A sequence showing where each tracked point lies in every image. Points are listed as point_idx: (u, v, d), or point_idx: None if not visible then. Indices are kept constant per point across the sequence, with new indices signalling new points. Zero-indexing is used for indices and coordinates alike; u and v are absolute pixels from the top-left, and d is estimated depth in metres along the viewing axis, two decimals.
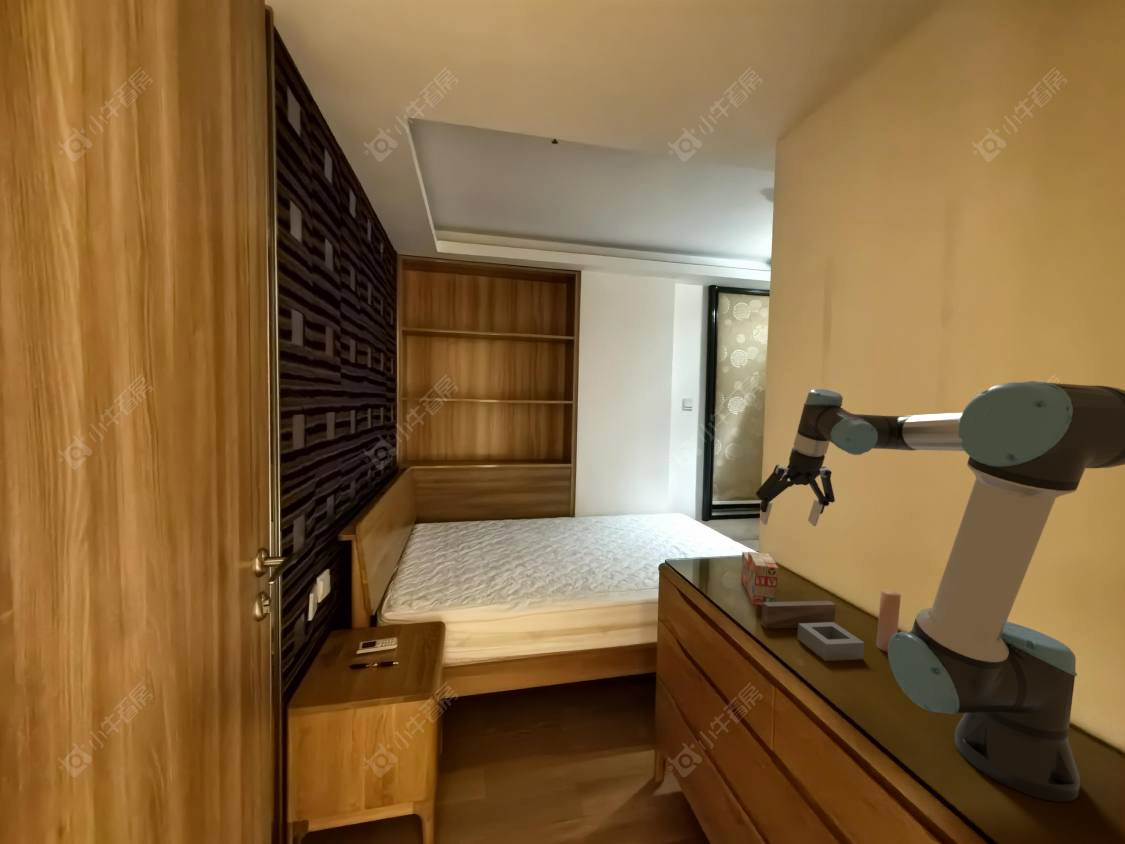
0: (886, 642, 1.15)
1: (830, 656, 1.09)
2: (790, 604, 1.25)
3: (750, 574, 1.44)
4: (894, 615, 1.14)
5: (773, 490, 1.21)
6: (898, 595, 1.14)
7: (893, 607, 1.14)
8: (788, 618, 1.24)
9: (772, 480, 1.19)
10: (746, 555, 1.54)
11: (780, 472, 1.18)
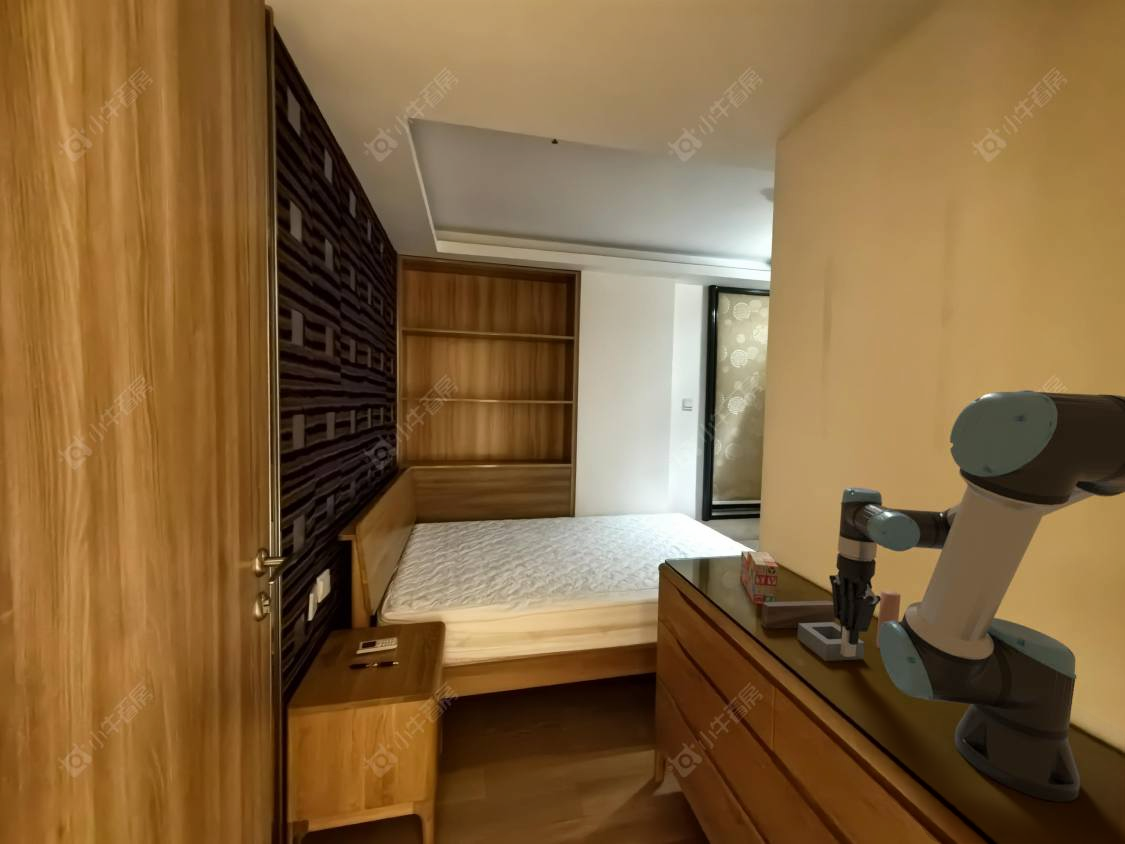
0: None
1: (830, 656, 1.09)
2: (790, 604, 1.25)
3: (750, 573, 1.45)
4: (894, 615, 1.14)
5: None
6: (898, 595, 1.14)
7: (893, 607, 1.14)
8: (788, 618, 1.24)
9: None
10: (745, 554, 1.55)
11: (830, 579, 1.14)
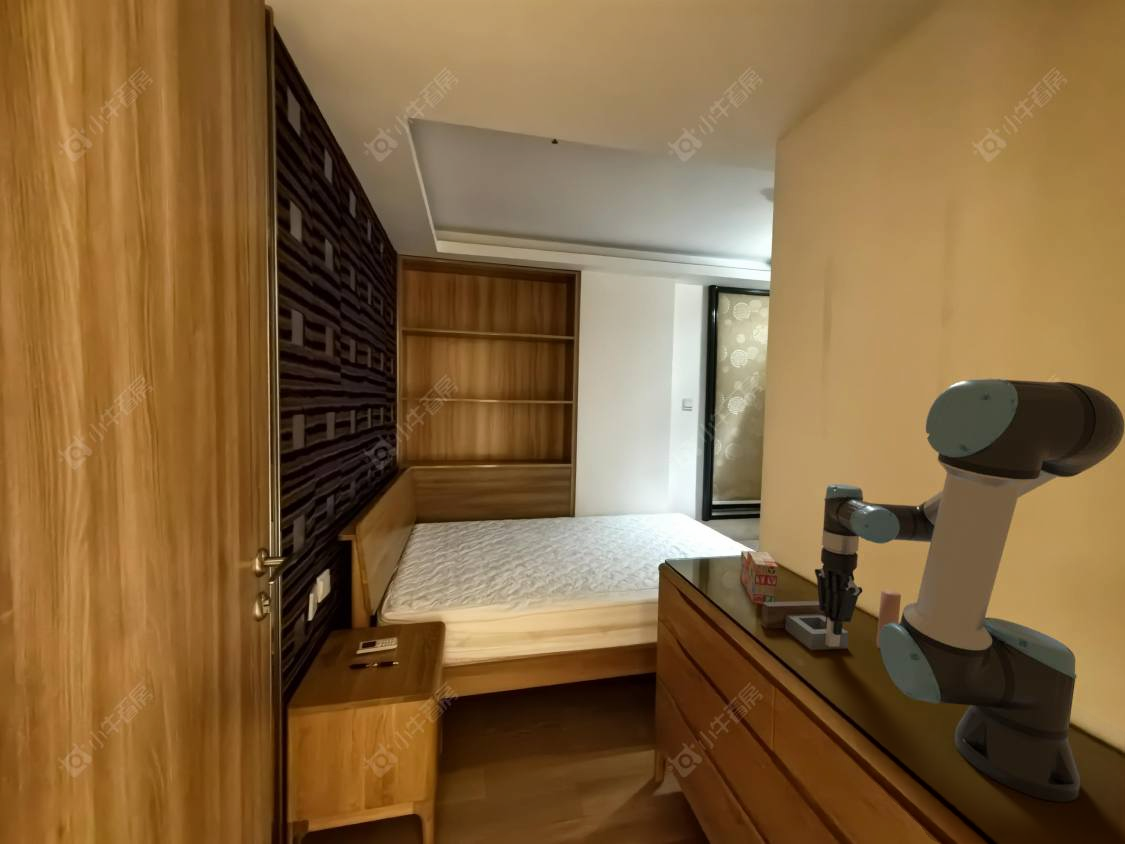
0: None
1: (815, 645, 1.14)
2: (790, 604, 1.25)
3: (750, 573, 1.45)
4: (894, 615, 1.14)
5: None
6: (898, 595, 1.14)
7: (893, 607, 1.14)
8: None
9: None
10: (745, 554, 1.55)
11: (816, 573, 1.19)
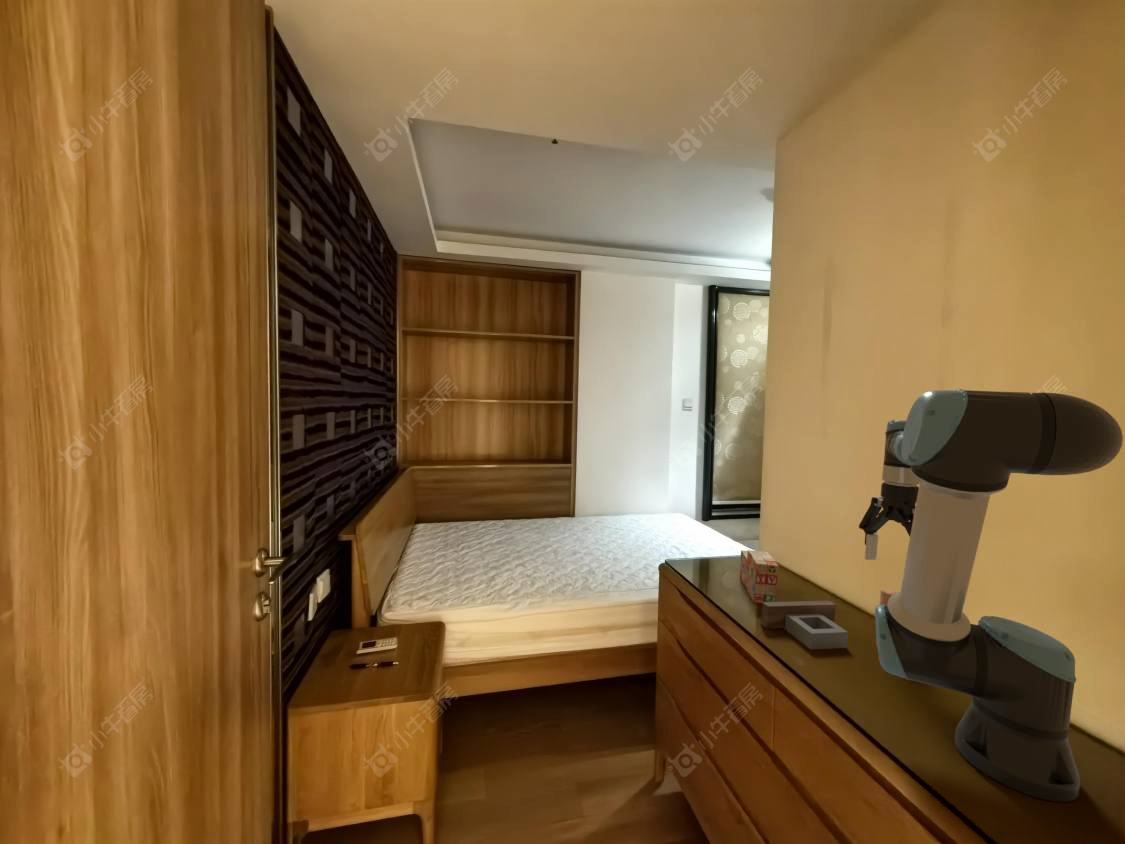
0: None
1: (815, 645, 1.14)
2: (790, 604, 1.25)
3: (750, 572, 1.46)
4: None
5: None
6: None
7: None
8: None
9: None
10: (745, 553, 1.56)
11: (872, 500, 1.21)
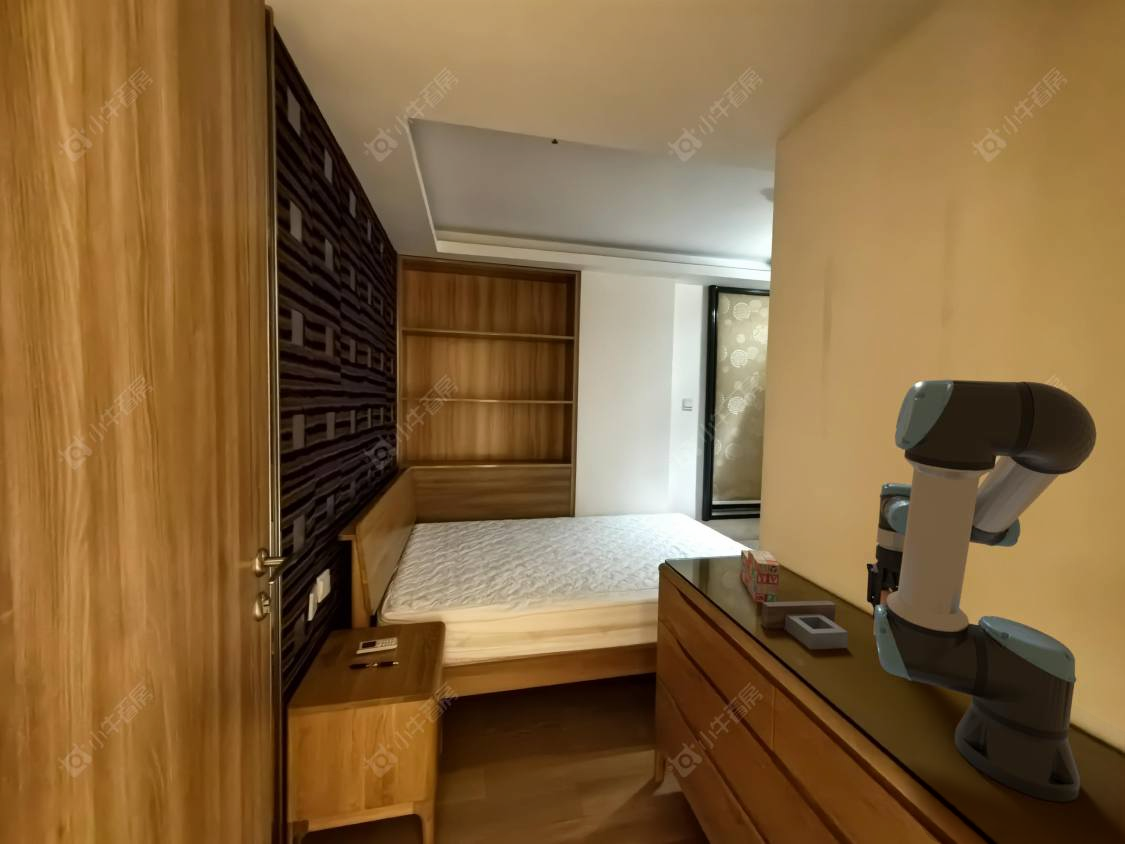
0: None
1: (815, 645, 1.14)
2: (790, 604, 1.25)
3: (751, 572, 1.46)
4: None
5: None
6: None
7: None
8: None
9: None
10: (745, 553, 1.56)
11: (867, 567, 1.21)
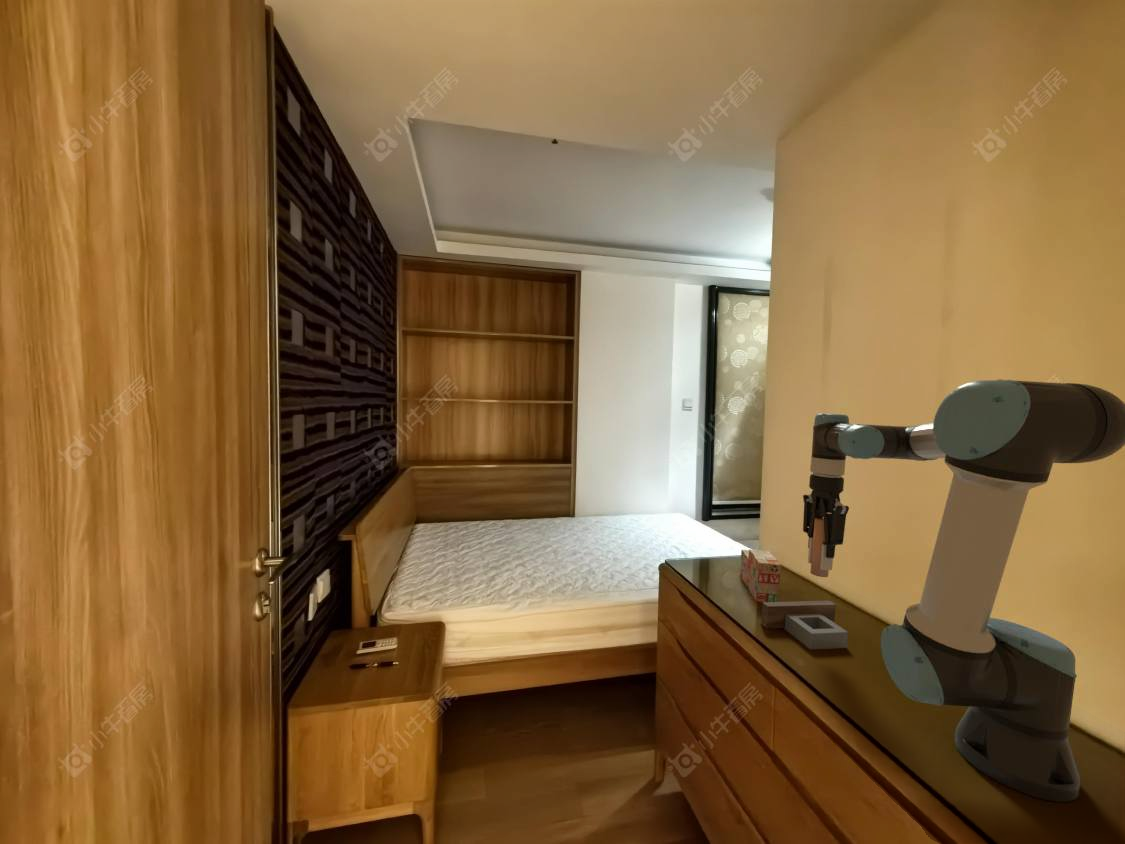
0: (818, 567, 1.18)
1: (815, 645, 1.14)
2: (790, 604, 1.25)
3: (752, 572, 1.47)
4: None
5: None
6: None
7: None
8: None
9: None
10: (746, 553, 1.57)
11: (804, 498, 1.24)
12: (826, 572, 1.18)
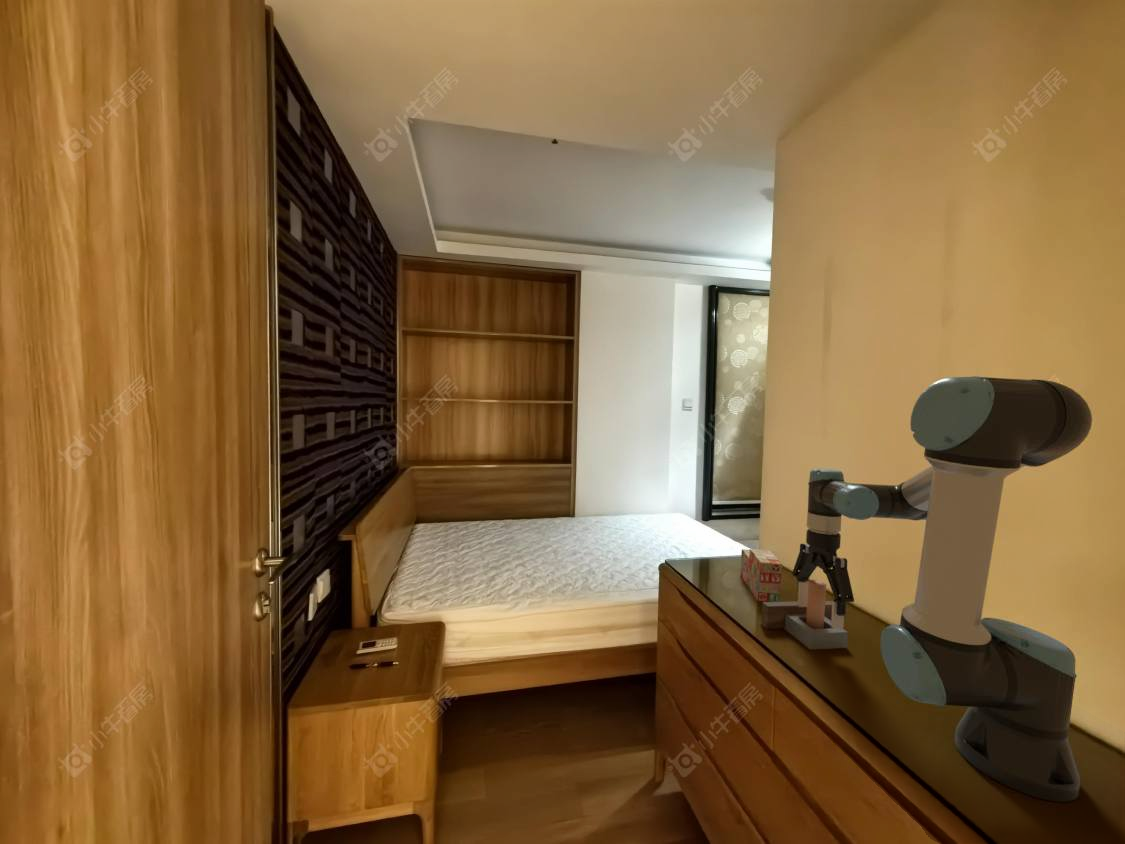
0: None
1: (815, 645, 1.14)
2: (790, 604, 1.25)
3: (753, 571, 1.47)
4: (820, 604, 1.18)
5: None
6: (824, 585, 1.19)
7: (819, 596, 1.18)
8: None
9: None
10: (746, 552, 1.57)
11: (800, 547, 1.24)
12: None
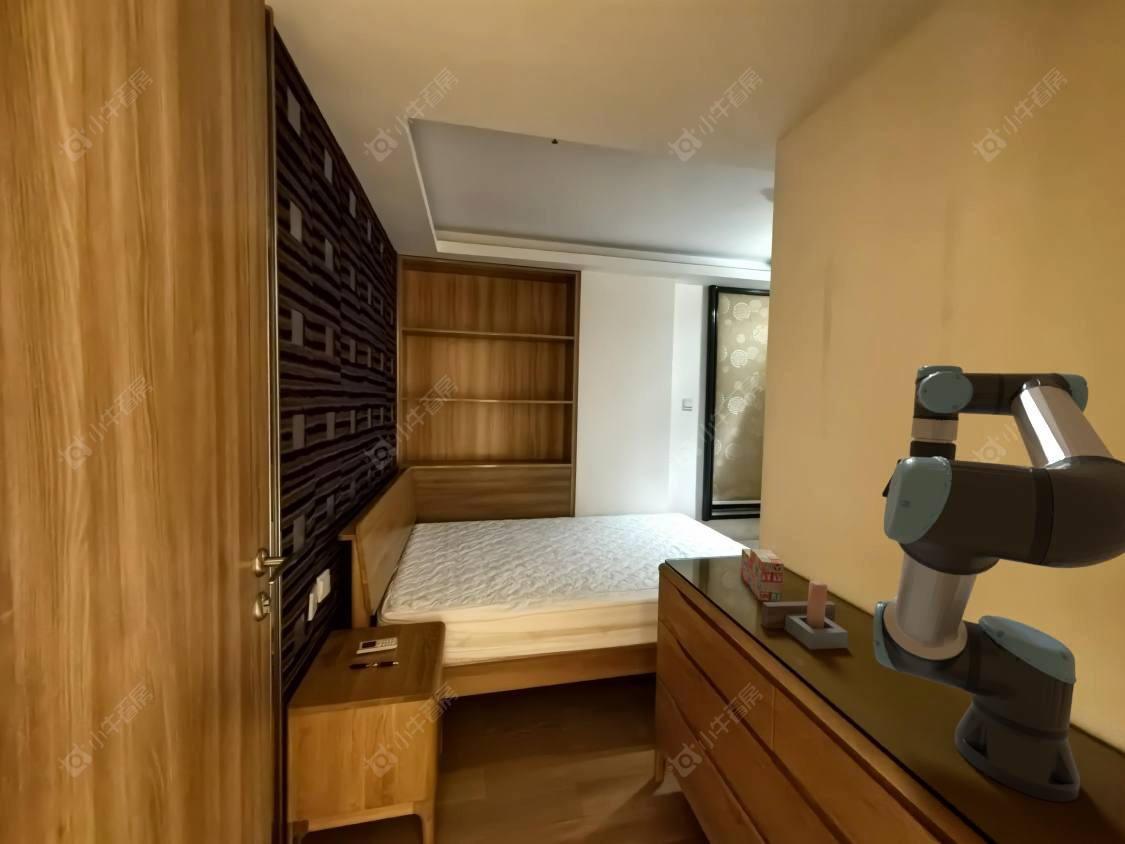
0: None
1: (815, 645, 1.14)
2: (790, 604, 1.25)
3: (754, 570, 1.48)
4: (821, 605, 1.18)
5: None
6: (825, 585, 1.18)
7: (819, 597, 1.18)
8: None
9: None
10: (747, 552, 1.58)
11: (898, 463, 1.04)
12: None
